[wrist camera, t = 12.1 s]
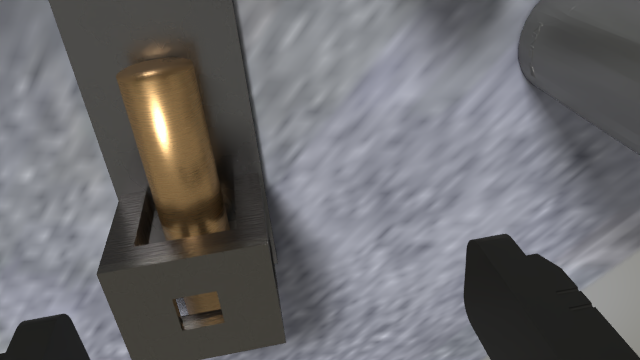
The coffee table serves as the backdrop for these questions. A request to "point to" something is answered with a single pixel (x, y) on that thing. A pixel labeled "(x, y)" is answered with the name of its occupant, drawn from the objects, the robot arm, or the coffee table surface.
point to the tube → (175, 153)
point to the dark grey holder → (135, 195)
